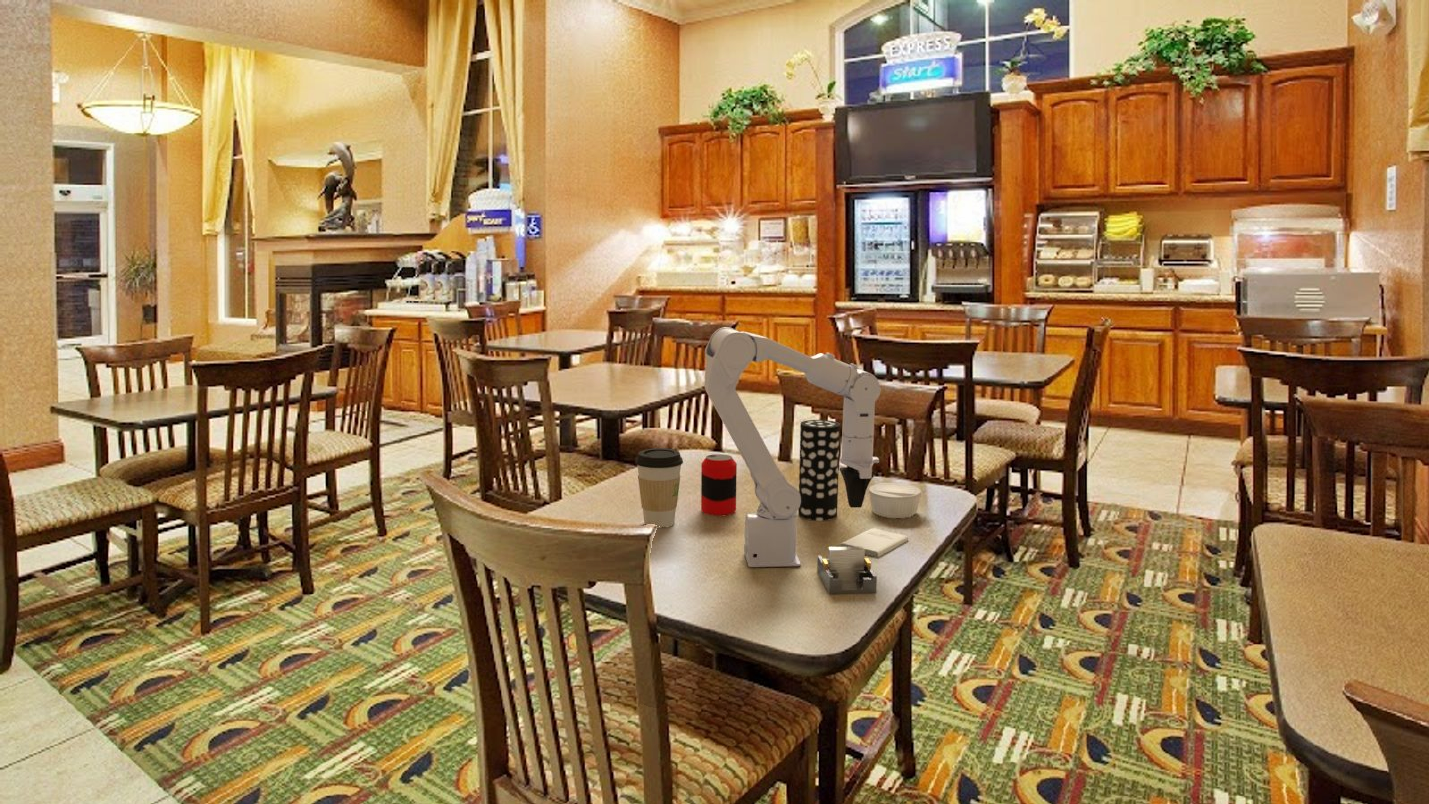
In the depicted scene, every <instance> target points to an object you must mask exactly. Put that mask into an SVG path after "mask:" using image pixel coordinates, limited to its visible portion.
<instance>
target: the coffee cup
mask: <svg viewBox="0 0 1429 804" xmlns="http://www.w3.org/2000/svg"><path fill="white" fill-rule="evenodd" d="M634 463H635V465H637V471H638V475H637V479H638V486H639V487H638V489H639V495H640V496H639V497H640V502H641V503H640V504H641V509H642V512H643V513H642V515H643V521H644V523H645V524H655V525H657V527H659V526H660V527H666V528H668V527H667V526H670V527H672V526H671V525H673V524H674V525H675V519H676V511H677V508H678V499H679V492H680V481H681V467H682V465H683V464H684V461H683V457H682V455H681V452H680V451H679V450H677V449H673V448H664V447H663V448H662V447H661V448H658V447H655V448H647V449H642V450H640V451H639V452H638V453H637V457H636V458H635V462H634ZM645 524H644V525H645ZM674 525H673V526H674Z"/></svg>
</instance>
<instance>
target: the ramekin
mask: <svg viewBox="0 0 1429 804" xmlns="http://www.w3.org/2000/svg"><path fill="white" fill-rule="evenodd" d="M868 494H869V499H870V506H871V511H872V512H873V514H876V515H877V516H880V517H883V518H886V517H887V519H896V518H901V519H906V518H905V517H909V518H911V517H910V516H912V517H914V516H915V515H914V514H917V511H918V510H919V509H918V508H919V504H920V498H921V496H922V490H921V489H920V488H918V487H917V486H914V485H912V484H905V483H898V482H881V483H875V484H873V485H871V486H870V487H869V488H868ZM913 515H914V516H913Z"/></svg>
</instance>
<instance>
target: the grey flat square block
mask: <svg viewBox="0 0 1429 804" xmlns="http://www.w3.org/2000/svg"><path fill="white" fill-rule="evenodd" d="M865 555H866V554H865V549H864V548H863V546H860V547H840V546H828V547H827V559H828V569H829V570H830V572H836V571H837V572H838V578H842V580H858V571H864V558H865Z"/></svg>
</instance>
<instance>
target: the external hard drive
mask: <svg viewBox="0 0 1429 804" xmlns="http://www.w3.org/2000/svg"><path fill="white" fill-rule="evenodd" d="M907 540H908V541H909V536H908V535H905V534H903V533H902V534H901V533H897V532H896V533H895V532H893V531H887V530H883V529H880V528H875V527H872V528H870V529H868V530H866V531H863V532H860V533H859V534H857V535H855V536H853V537H851V538H849V539H847V540H845V541H842V542H841V543H840V544H839V547H860V546H863V548H864V549H865V555H868V556H871V557H876V558H880V557H881V556H883V555H884V553H885V554H886V553H888V552H890V551H892V550H893V549H894V550H895V548H897V547H899V546H901V545H902V544H905V543H906V542H907ZM900 544H901V545H900Z"/></svg>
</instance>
